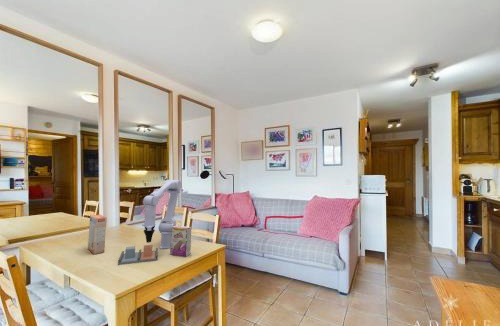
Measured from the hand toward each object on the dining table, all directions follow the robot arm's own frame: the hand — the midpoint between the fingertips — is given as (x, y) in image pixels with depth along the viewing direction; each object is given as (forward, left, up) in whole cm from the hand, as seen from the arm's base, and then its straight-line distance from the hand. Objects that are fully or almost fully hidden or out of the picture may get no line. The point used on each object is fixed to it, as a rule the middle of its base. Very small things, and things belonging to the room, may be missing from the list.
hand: (149, 240), depth 128 cm
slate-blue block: (+9, 0, -8) cm, 12 cm away
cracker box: (+30, -21, -10) cm, 37 cm away
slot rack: (+5, 0, -9) cm, 10 cm away
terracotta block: (0, 0, -8) cm, 8 cm away
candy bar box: (-17, +2, -10) cm, 20 cm away
